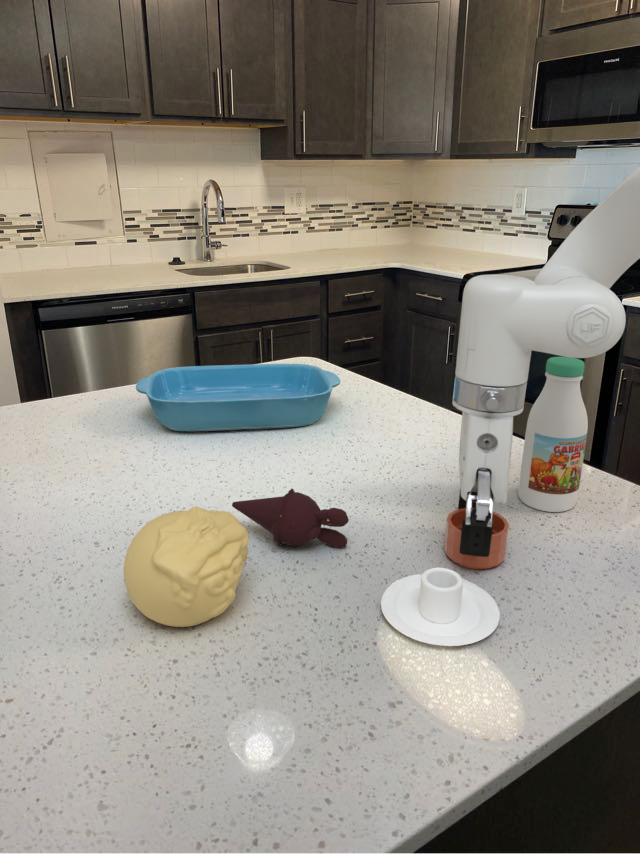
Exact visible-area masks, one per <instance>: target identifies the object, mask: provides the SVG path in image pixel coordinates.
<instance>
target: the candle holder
mask: <svg viewBox="0 0 640 854" xmlns="http://www.w3.org/2000/svg"><path fill="white" fill-rule="evenodd" d="M380 609H381V612H382V614H383V617H384V618H385V620H386V621H387V623H389V624H390V626H392V627H393V628H394V629H395V630H397V631H398V632H399V633H401V634H403V635H404V636H407V637H408V638H411V639H413V640H415V641H418V642H421V643H424V644H428V645H434V646H440V647H441V646H443V647H459V646H467V645H470V644H474V643H477V642H480V641H482V640H484V639H485V638H488V637H489V636H490V635H492V634H493V632H495V630H496V629H497V628H498V625H499V623H500V620H501V614H500V608H499V606H498V604H497V602H496V601H495V599H494V598H493V597H492V596H491V595H490V594H489V592H487V591H486V590H485V589H484V588H482V587H480V586H479V585H477V584H476V583H473V582H472V581H469V580H467V579H464V578H463V577H462V576H461V575H460V573H458V572H457V571H455V570H453V569H451V568H448V567H441V566H440V567H431V568H428V569H425V571H423V572H422V573H416V574H410V575H407V576H404V577H401V578H399V579H397V580H394V581H393V582H392V583H391V584H390V585H388V587H387V588H386V589H385V591H383V594H382V596H381V599H380Z"/></svg>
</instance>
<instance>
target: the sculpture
mask: <svg viewBox="0 0 640 854" xmlns="http://www.w3.org/2000/svg"><path fill="white" fill-rule="evenodd" d="M249 537H250V535H249V532H248V529H247V528H246V527H245V526H244V525H242V524H241V522H240V521H239V519H238V518H237V517H236V516H235V515H234V514H233V513H231V512H229V511H224V510H213V509H209V510H207V509H204V508H201V507H199V506H192V507H191V508H189V509H187V510H176V511H170V512H166V513H164V514H161V515H159V516H157V517H155V518H153V519H151V520H149V521H148V522H147V523H146V524H145V525H143V526H142V527H141V528H140V529H139V531H137V533H136V534H135V535H134V536H133V538H132V540H131V541H130V544H129V546H128V548H127V551H126V554H125V556H124V562H123V579H124V585H125V588H126V592H127V594H128V595H129V598H130V599H131V602H132V603H133V604H134V606H135V607H136V608H137V610H139V612H140V613H142V614H143V616H145V617H146V618H148V619H149V620H151V621H153V622H156V623H158V624H160V625H163V626H169V627H175V628H188V627H193V626H197V625H200V624H203V623H206V622H208V621H209V620H212V619H213V618H217V617H218V616H220V615H222V614H223V613H224V612H225V611H226V610H227V609H228V608H229V606H230V605H231V604H233V602H234V600H235V599H236V590H237V587H238V584H239V582H240V580H241V579H240V578H241V575H242V573H243V569H244V563H245V562H246V561H247V560H248V555H249V551H250V550H249V539H250V538H249Z"/></svg>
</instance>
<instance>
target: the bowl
mask: <svg viewBox="0 0 640 854" xmlns="http://www.w3.org/2000/svg"><path fill="white" fill-rule="evenodd" d="M475 509H476V508H475ZM472 510H473V508H472ZM465 518H466V508H462V509H458V508H457V509H455V510H453V511H451V512H449V513H448V515H447V517H446V518H445V519H446V521H445V532H444V533H445V534H444V544H443V545H444V547H443V548H444V552H445V554H446V556H447V557H448V558H449V559H450V560H451V561H453V562H454V563H455V564H457V565H459V566H461V567H463V568H466V569H471V570H488V569H492V568H494V567H497V566H499V565H500V564H501V563H503V562H504V561H505V559H506V556H507V549H508V548H507V547H508V539H509V530H510V524H509V522H508V520H507V518H506V517H504V516H503V515H501V514H500V513H498V512H495V511H493V518H492V523H493V530H492V538H491V546H490V553H489V556H488V557H481V556H472V555H463V554H461V553H460V540H461V531H462V522H463V520H465Z"/></svg>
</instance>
